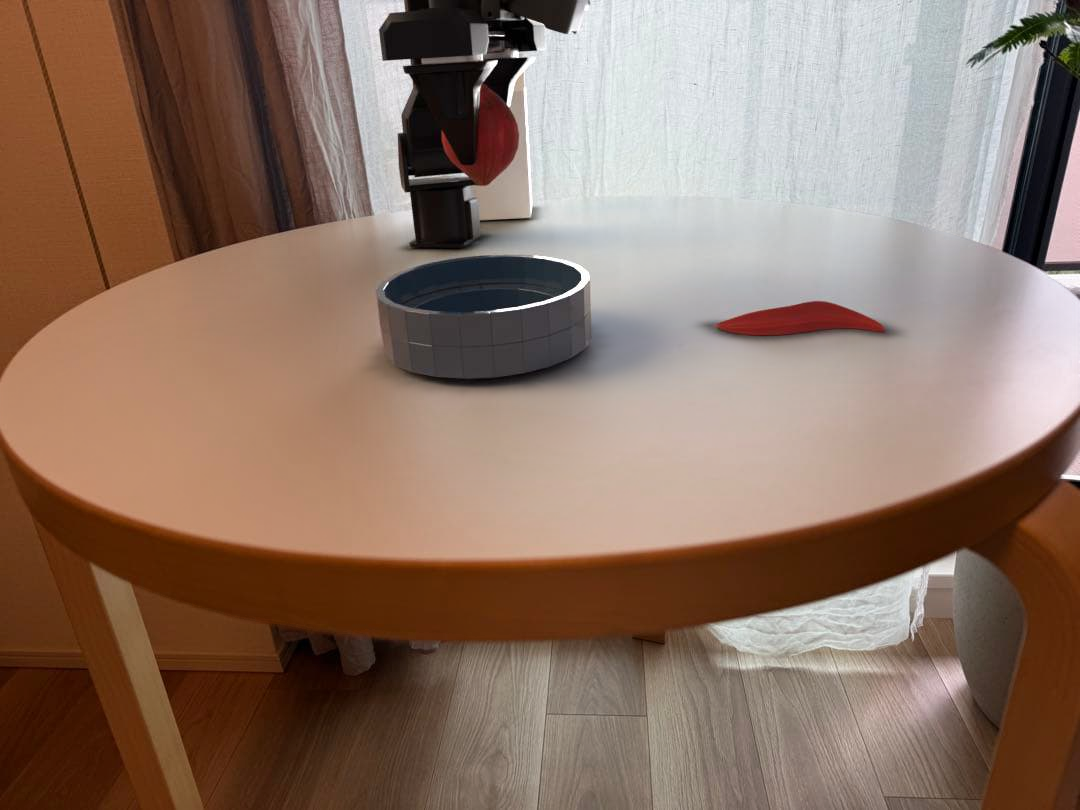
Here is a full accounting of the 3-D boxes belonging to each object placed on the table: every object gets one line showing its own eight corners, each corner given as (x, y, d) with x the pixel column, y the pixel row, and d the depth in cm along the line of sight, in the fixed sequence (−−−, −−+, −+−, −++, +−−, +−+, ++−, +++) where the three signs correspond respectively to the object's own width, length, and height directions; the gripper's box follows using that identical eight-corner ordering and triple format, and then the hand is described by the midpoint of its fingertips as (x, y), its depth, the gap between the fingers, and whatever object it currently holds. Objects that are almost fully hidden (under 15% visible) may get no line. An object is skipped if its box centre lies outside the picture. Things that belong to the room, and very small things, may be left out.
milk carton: (531, 219, 102) (521, 53, 95) (474, 221, 103) (460, 56, 95) (532, 208, 109) (523, 51, 101) (478, 210, 109) (466, 55, 101)
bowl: (347, 380, 56) (336, 310, 54) (432, 311, 70) (426, 253, 68) (562, 393, 52) (559, 318, 50) (609, 317, 66) (608, 256, 64)
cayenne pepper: (884, 322, 61) (887, 297, 61) (886, 343, 57) (889, 316, 57) (720, 313, 65) (721, 290, 64) (712, 332, 61) (713, 308, 60)
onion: (534, 180, 65) (528, 70, 62) (501, 192, 60) (492, 74, 57) (470, 179, 67) (460, 74, 64) (433, 191, 62) (421, 78, 59)
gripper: (539, -109, 46) (553, 176, 52) (605, -72, 63) (609, 142, 69) (360, -89, 49) (393, 179, 55) (467, -58, 66) (483, 145, 72)
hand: (482, 159), depth 63 cm, fingers closed on onion, 6 cm apart
